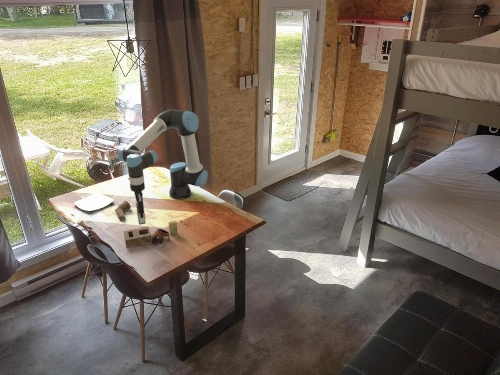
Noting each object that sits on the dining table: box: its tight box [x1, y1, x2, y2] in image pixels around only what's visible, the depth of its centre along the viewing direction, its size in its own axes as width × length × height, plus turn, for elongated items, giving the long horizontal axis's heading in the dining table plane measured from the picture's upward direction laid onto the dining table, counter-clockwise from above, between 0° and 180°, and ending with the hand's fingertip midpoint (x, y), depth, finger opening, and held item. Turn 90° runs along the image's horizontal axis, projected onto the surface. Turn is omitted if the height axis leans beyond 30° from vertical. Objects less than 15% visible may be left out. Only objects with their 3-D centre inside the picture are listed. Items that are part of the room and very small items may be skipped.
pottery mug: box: [151, 228, 171, 246], centre depth 218 cm, size 12×10×8 cm
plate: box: [73, 192, 115, 213], centre depth 258 cm, size 20×20×3 cm
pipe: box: [114, 200, 132, 221], centre depth 247 cm, size 6×17×10 cm
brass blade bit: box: [168, 220, 179, 236], centre depth 226 cm, size 4×2×8 cm, turn 112°
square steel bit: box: [135, 200, 147, 226], centre depth 214 cm, size 4×4×14 cm
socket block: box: [123, 226, 153, 249], centre depth 220 cm, size 14×10×5 cm
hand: (141, 220), depth 216 cm, fingers closed on square steel bit, 4 cm apart
